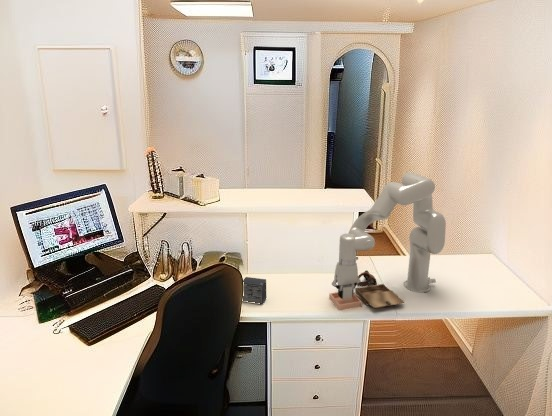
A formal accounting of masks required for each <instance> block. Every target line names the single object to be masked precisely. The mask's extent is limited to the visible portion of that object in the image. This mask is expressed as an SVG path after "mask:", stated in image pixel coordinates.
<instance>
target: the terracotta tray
mask: <svg viewBox="0 0 552 416" xmlns="http://www.w3.org/2000/svg"><path fill="white" fill-rule="evenodd" d="M328 297H329V300H330V301H331V302H332V304H333V305H334V306H335V307H336V308H337V310H338V311H343V310H349V309H355V308H360V307H362V303H363V301H362V300H361V299H360V298H359V297H358V296H357V294H356V293H355V292H353V297H352V298H351V299H345V300H343V299H341V298H340V297H339V296H338V291H337V292H331V293H330V292H329V295H328Z"/></svg>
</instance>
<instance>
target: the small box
mask: <svg viewBox="0 0 552 416" xmlns="http://www.w3.org/2000/svg"><path fill="white" fill-rule="evenodd" d="M242 281H243V282H244V296H243V301H248V302H255V303H260V304H259V305H261V304H263V303H264V304H265V302H266V301H267V299H268V298H267V279H265V278H259V277H251V276H250V277H249V276H246V277H244V278H243V280H242ZM266 298H267V299H266ZM264 304H263V305H264Z"/></svg>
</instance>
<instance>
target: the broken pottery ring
mask: <svg viewBox="0 0 552 416" xmlns="http://www.w3.org/2000/svg"><path fill="white" fill-rule="evenodd" d="M358 277H359V279H361V277H363V278H364V280H365V281H362V280H361V281H360V282H359V283H358V284H357V286H358V287H360V288H361V287H367V286H370V283H373V284H375V285H378V283H377V279H376V277H375V276H374V275H373V274H371V273H370V272H369V271H368V270H365V271H364V272H361V273H360V274H358Z"/></svg>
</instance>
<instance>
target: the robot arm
mask: <svg viewBox="0 0 552 416" xmlns="http://www.w3.org/2000/svg"><path fill="white" fill-rule="evenodd" d="M435 188H436V184H435V182H434V181H433V180H432V179H431V178H430V177H429V178H428V177H426V176H423V175H421V174H418V173H415V172H406V173H404V174H403V175H402V177H401V183H400V182H396V181H390V182H387V183H386V184H385V185H384V188H383V189H382V190H381V191H380V194H379V195H378V196H377V198H376V200H375V202H374V203H373V205H372V206H371V207H370V209H368V210H366V211H365V212H363V213H362V214H361V215H359V216H358V217H357V218H356V219H355V220H354V222H353V223H352V225H351V227H350V229H349V230H348V233H343V234H340V237H339V247H338V251H339V253H338V262H336V265H335V269H334V279H333V281H332V282H331V286H332V287H334V288H336V289H337V292H338V296H339V297H340V298H341V299H342V297H343V291H342V288H343V285H347V284H350V285H351V286H352V287H353V289H352V297H353V293H354V292H355V288H356V287H357V286H358V283H359V282H360V281H361V282H362V280H361V278H359V277H358V276H359V269H358V263H357V261H358V260H359V256H357V252H358V251H360V252H361V251H363V252H365V251H371V250H372V249H374V247H375V245H376V241H375V240H376V239H375V238H374V237H373V236H372V235H371V234H369V233H367V232H366V229H367V228H368V226H369V225H371V224H372V223H374V222H378V221H385V220H386V219H388V218H389V217H390V215H391V214H392V212H393V210H394V209H395V207H396V206H397V204H398V205H401V206H408V205H412V204H413V205H412V206H413V207H412V219H413V220H412V221H413V222H414V224H415V225H417V226H415V227H413V228H412V230H410V233H409V236H408V238H409V239H408V241H409V257H408V268H407V270H408V271H407V279H406V280H405V281H404V282H403V287H404V288H405V289H406V290H408V291H411V292H415V293H424V294H425V293H427V292H429V291H430V290H431V286H430V284H433V283H434V284H435V283H436V279H435V278H431V277H429V271H430V261H431V254H432V255H437V254H439V253H441V252H442V251H443V249H444V247H445V243H446V231H447V230H446V228H447V227H446V225H447V223H446V218H445V216H444V215H443V214H442V213H440V212H438V211H436V210H434V207H433V206H434V205H433V193H434V191H435V190H436V189H435Z"/></svg>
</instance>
